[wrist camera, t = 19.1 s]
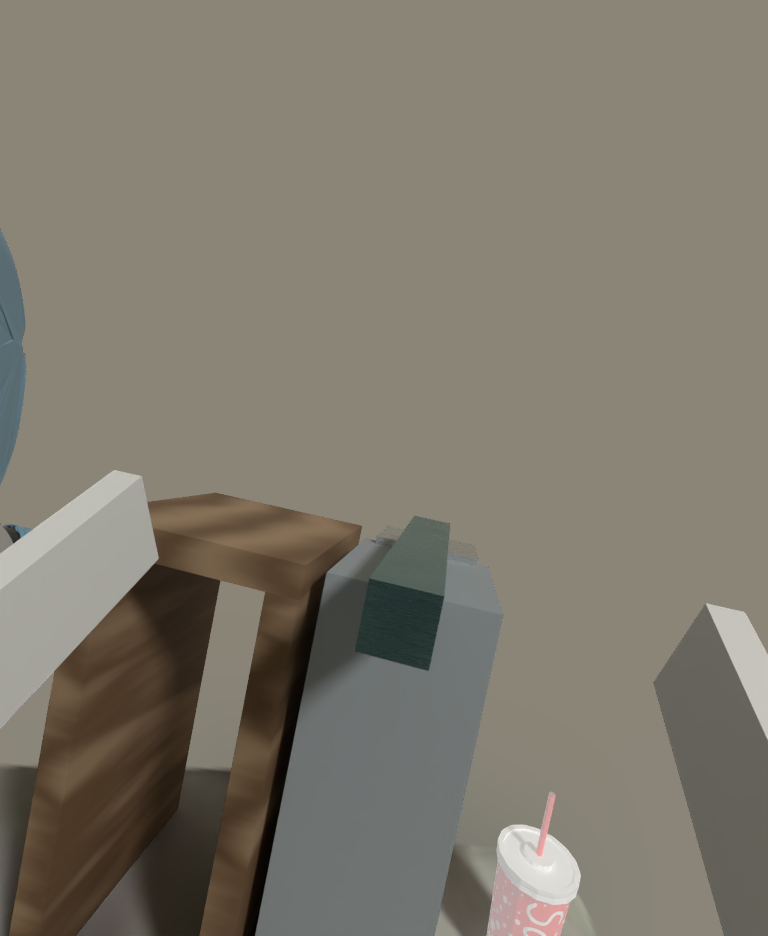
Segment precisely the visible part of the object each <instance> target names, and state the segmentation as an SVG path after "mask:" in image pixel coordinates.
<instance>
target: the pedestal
mask: <svg viewBox="0 0 768 936" xmlns="http://www.w3.org/2000/svg"><path fill="white" fill-rule="evenodd" d="M391 548H392V547H389V546H384V545H380V544H376V541H375V540H370V539H364V540H363V541H362V542H361V543H360V544H359V545H358V546H356V547H355V548H354V549H353V550H352V551H351V552H349V553H348V554H347V555H346V556H345V557H344V558H343V559H341V560H340V561H339V562H338V563H337V564H336V565H334V566H333V567H332V568H331V569H330V570H329V571H328V572H327V573H326V578H325V583H324V589H323V594H322V599H321V604H320V609H319V614H318V619H317V624H316V629H315V634H314V639H313V644H312V649H311V655H310V660H309V665H308V670H307V675H306V680H305V685H304V690H303V695H302V700H301V705H300V710H299V715H298V721H297V726H296V731H295V736H294V741H293V746H292V751H291V756H290V761H289V766H288V771H287V776H286V781H285V787H284V792H283V797H282V802H281V807H280V812H279V817H278V822H277V827H276V832H275V837H274V842H273V847H272V853H271V858H270V863H269V868H268V873H267V878H266V883H265V888H264V893H263V898H262V903H261V908H260V913H259V919H258V924H257V929H256V934H255V936H434V935H435V931H436V926H437V922H438V917H439V912H440V908H441V903H442V898H443V894H444V889H445V884H446V880H447V875H448V870H449V866H450V861H451V856H452V852H453V847H454V842H455V838H456V833H457V828H458V824H459V819H460V814H461V810H462V805H463V800H464V796H465V791H466V787H467V782H468V777H469V773H470V768H471V763H472V759H473V754H474V749H475V745H476V740H477V735H478V730H479V726H480V721H481V716H482V712H483V707H484V703H485V698H486V693H487V689H488V684H489V679H490V675H491V670H492V665H493V661H494V656H495V651H496V647H497V642H498V638H499V633H500V628H501V623H502V619H503V613H502V609H501V606H500V603H499V600H498V597H497V594H496V590H495V587H494V584H493V580H492V577H491V574H490V571H489V567H488V566H484V565H479V564H477V565H476V566H471V565H467V564H463V563H458V562H454V561H449V560H447V570H446V582H445V595H444V601H443V606H442V610H441V615H440V620H439V625H438V629H437V634H436V639H435V644H434V649H433V653H432V658H431V663H430V668H429V671H427V670H423V669H419V668H415V667H411V666H408V665H404V664H400V663H396V662H393V661H389V660H385V659H381V658H377V657H374V656H370V655H366V654H362V653H359V652H355V647H356V642H357V637H358V632H359V627H360V622H361V617H362V612H363V607H364V602H365V597H366V592H367V587H368V582H369V578H370V577H371V575H372V574H373V572H374V571H375V570H376V568H377V567H378V566H379V564H380V563H381V561H382V560H383V559H384V557H385V556H386V555H387V553H388V552H389V550H390V549H391Z"/></svg>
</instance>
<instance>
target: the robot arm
mask: <svg viewBox="0 0 768 936" xmlns="http://www.w3.org/2000/svg"><path fill="white" fill-rule="evenodd" d="M24 331H25V315H24V307H23V299H22V294H21V288H20V283H19V279H18V275H17V271H16V267H15V264H14V261H13V258H12V255H11V252H10V250H9V247H8V245H7V242H6V240H5V238H4V236H3V234H2V232H1V230H0V484H1V482H2V480H3V477H4V475H5V473H6V470H7V467H8V464H9V461H10V458H11V456H12V452H13V450H14V446H15V442H16V438H17V433H18V429H19V423H20V416H21V411H22V406H23V397H24V387H25V375H26V363H25V353H23V348H22V339H23V335H24ZM158 559H159V557H158V552H157V547H156V543H155V538H154V533H153V528H152V523H151V518H150V514H149V509H148V504H147V499H146V494H145V489H144V485H143V480H142V476H138V475H134V474H130V473H125V472H121V471H116V470H114V471H112V472H111V473H109V474H108V475H107V476H105V477H104V478H103V479H102V480H100V481H99V482H97V483H96V484H94V485H93V486H92V487H90V488H89V489H88V490H86V491H85V492H84V493H82V494H81V495H79V496H78V497H77V498H75V499H74V500H73V501H71V502H70V503H68V504H67V505H66V506H64V507H63V508H62V509H60V510H59V511H58V512H56V513H55V514H54V515H52V516H51V517H49V518H48V519H47V520H45V521H44V522H42V523H41V524H40V525H38V526H37V527H36V528H34V529H31V528H23V527H19V526H18V525H10V524H9V525H5V526H2V525H1V524H0V729H1V728H2V727H3V726H4V724H5V723H6V722H7V721H8V720H9V719H10V718H11V717H12V716H13V715H14V714H15V713H16V712H17V710H18V709H19V708H20V707H21V706H22V705H23V704H24V703H25V702H26V701H27V700H28V699H29V698H30V696H32V694H33V693H34V692H35V691H36V690H37V689H38V688H39V687H40V686H41V685H42V684H43V683H44V682H45V680H46V679H47V678H48V677H49V676H50V675H51V674H52V673H53V672H54V671H55V670H56V669H57V668H58V666H59V665H60V664H61V663H62V662H63V661H64V660H65V659H66V658H67V657H68V656H69V655H70V654H71V653H72V651H73V650H74V649H75V648H76V647H77V646H78V645H79V644H80V643H81V642H82V641H83V640H84V639H85V637H86V636H87V635H88V634H89V633H90V632H91V631H92V630H93V629H94V628H95V627H96V626H97V625H98V623H99V622H100V621H101V620H102V619H103V618H104V617H105V616H106V615H107V614H108V613H109V612H110V611H111V610H112V608H113V607H114V606H115V605H116V604H117V603H118V602H119V601H120V600H121V599H122V598H123V597H124V596H125V594H126V593H127V592H128V591H129V590H130V589H131V588H132V587H133V586H134V585H135V584H136V583H137V582H138V581H139V579H140V578H141V577H142V576H143V575H144V574H145V573H146V572H147V571H148V570H149V569H150V568H151V567H152V565H153V564H154V563H155V562H156V561H157V560H158ZM654 686H655V690H656V694H657V697H658V701H659V704H660V708H661V712H662V715H663V719H664V722H665V726H666V729H667V733H668V737H669V740H670V744H671V747H672V751H673V754H674V758H675V762H676V765H677V769H678V772H679V776H680V780H681V783H682V787H683V790H684V793H685V797H686V801H687V805H688V808H689V812H690V815H691V819H692V822H693V826H694V829H695V833H696V837H697V840H698V844H699V848H700V851H701V855H702V858H703V862H704V865H705V869H706V873H707V876H708V880H709V883H710V887H711V891H712V894H713V898H714V901H715V905H716V908H717V912H718V916H719V919H720V923H721V926H722V930H723V934H724V936H768V654H767V653H766V651H765V649H764V647H763V645H762V643H761V642H760V639H759V638H758V636H757V634H756V632H755V630H754V628H753V626H752V625H751V623H750V621H749V619H748V617H747V615H746V613H745V612H741V611H737V610H733V609H728V608H724V607H720V606H715V605H710V604H705V605H704V607H703V608H702V610H701V611H700V613H699V614H698V616H697V617H696V619H695V620H694V622H693V623H692V625H691V626H690V628H689V630H688V631H687V632H686V634H685V635H684V637H683V638H682V640H681V641H680V643H679V645H678V646H677V648H676V649H675V651H674V652H673V654H672V655H671V657H670V658H669V660H668V661H667V663H666V664H665V666H664V667H663V669H662V671H661V672H660V673H659V675H658V676H657V678H656V680H655V681H654Z"/></svg>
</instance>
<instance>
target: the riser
mask: <svg viewBox="0 0 768 936" xmlns="http://www.w3.org/2000/svg"><path fill="white" fill-rule="evenodd" d="M147 504H148V509H149V514H150V518H151V523H152V528H153V533H154V538H155V543H156V547H157V552H158V557H159V559H158V560H157V561H156V562H155V563H154V564H153V565H152V567H151V568H150V569H149V570H148V571H147V572H146V573H145V574H144V575H143V576H142V577H141V578H140V579H139V581H138V582H137V583H136V584H135V585H134V586H133V587H132V588H131V589H130V590H129V591H128V592H127V593H126V594H125V596H124V597H123V598H122V599H121V600H120V601H119V602H118V603H117V604H116V605H115V606H114V607H113V608H112V610H111V611H110V612H109V613H108V614H107V615H106V616H105V617H104V618H103V619H102V620H101V621H100V622H99V623H98V625H97V626H96V627H95V628H94V629H93V630H92V631H91V632H90V633H89V634H88V635H87V636H86V637H85V639H84V640H83V641H82V642H81V643H80V644H79V645H78V646H77V647H76V648H75V649H74V650H73V651H72V653H71V654H70V655H69V656H68V657H67V658H66V659H65V660H64V661H63V662H62V663H61V664H60V665H59V666H58V668H57V669H56V670H55V671H54V677H53V684H52V689H51V695H50V700H49V707H48V713H47V718H46V724H45V730H44V735H43V741H42V747H41V753H40V758H39V764H38V770H37V776H36V782H35V787H34V793H33V799H32V805H31V811H30V816H29V822H28V828H27V834H26V840H25V845H24V851H23V857H22V863H21V869H20V874H19V880H18V886H17V892H16V898H15V903H14V909H13V915H12V921H11V927H10V932H9V936H76V935H77V933H78V932H79V931H80V930H81V928H82V927H83V926H84V925H85V923H86V922H87V921H88V920H89V918H90V917H91V916H92V915H93V913H94V912H95V911H96V910H97V908H98V907H99V906H100V905H101V903H102V902H103V901H104V900H105V898H106V897H107V896H108V895H109V893H110V892H111V891H112V890H113V888H114V887H115V886H116V885H117V883H118V882H119V881H120V880H121V878H122V877H123V876H124V875H125V873H126V872H127V871H128V870H129V868H130V867H131V866H132V865H133V863H134V862H135V861H136V860H137V858H138V857H139V856H140V855H141V853H142V852H143V851H144V850H145V848H146V847H147V846H148V845H149V843H150V842H151V841H152V840H153V838H154V837H155V836H156V835H157V833H158V832H159V831H160V830H161V828H162V827H163V826H164V825H165V823H166V822H167V821H168V820H169V818H170V817H171V816H172V815H173V813H174V812H175V811H176V810H177V808H178V804H179V799H180V793H181V788H182V783H183V777H184V772H185V767H186V761H187V756H188V751H189V745H190V739H191V734H192V729H193V723H194V718H195V713H196V708H197V702H198V697H199V692H200V686H201V681H202V675H203V670H204V665H205V660H206V654H207V649H208V643H209V638H210V632H211V628H212V621H213V617H214V611H215V606H216V600H217V595H218V590H219V585H220V580H221V581H225V582H229V583H233V584H237V585H241V586H245V587H249V588H253V589H257V590H261V591H265V596H264V602H263V607H262V612H261V617H260V622H259V627H258V633H257V638H256V644H255V648H254V654H253V659H252V664H251V669H250V674H249V680H248V685H247V690H246V695H245V700H244V706H243V711H242V716H241V722H240V727H239V732H238V737H237V743H236V748H235V753H234V758H233V763H232V768H231V774H230V779H229V784H228V789H227V794H226V800H225V805H224V810H223V815H222V821H221V826H220V831H219V836H218V841H217V847H216V852H215V857H214V862H213V868H212V873H211V878H210V883H209V889H208V894H207V899H206V904H205V909H204V915H203V920H202V925H201V930H200V936H255V934H256V929H257V924H258V919H259V913H260V908H261V903H262V898H263V893H264V888H265V883H266V878H267V873H268V868H269V863H270V858H271V853H272V847H273V842H274V837H275V832H276V827H277V822H278V817H279V812H280V807H281V802H282V797H283V792H284V787H285V781H286V776H287V771H288V766H289V761H290V756H291V751H292V746H293V741H294V736H295V731H296V726H297V721H298V715H299V710H300V705H301V700H302V695H303V690H304V685H305V680H306V675H307V670H308V665H309V660H310V655H311V649H312V644H313V639H314V634H315V629H316V624H317V619H318V614H319V609H320V604H321V599H322V594H323V589H324V583H325V578H326V573H327V572H328V571H329V570H330V569H331V568H332V567H333V566H334V565H336V564H337V563H338V562H339V561H340V560H341V559H343V558H344V557H345V556H346V555H347V554H348V553H349V552H351V551H352V550H353V549H354V548H355V547H356V546H358V543H359V539H360V533H361V528H362V526H360V525H356V524H351V523H346V522H342V521H338V520H333V519H329V518H324V517H320V516H316V515H311V514H307V513H302V512H298V511H294V510H289V509H285V508H280V507H276V506H272V505H267V504H263V503H258V502H254V501H249V500H245V499H240V498H236V497H232V496H227V495H223V494H218V493H212V494H204V495H196V496H189V497H182V498H175V499H167V500H160V501H152V502H147Z"/></svg>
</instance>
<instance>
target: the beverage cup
mask: <svg viewBox="0 0 768 936" xmlns="http://www.w3.org/2000/svg"><path fill="white" fill-rule="evenodd" d="M555 796H556V795H555V794H554V793H553V792H549V796H548V800H547V805H546V809H545V814H544V818H543V823H542V828H541V830H540V829H537V828H534V827H530V826H527V825H510V826H509V827H507V828H505V829H503V830H502V831H501V834H500V836H499V838H498V842H497V843H498V846H497V849H496V850H497V857H498V863H497V870H496V876H495V883H494V890H493V896H492V903H491V909H490V916H489V923H488V929H487V936H560V934H561V931H562V927H563V924H564V921H565V917H566V914H567V911H568V908H569V904H570V901H571V900H572V899H574V898H575V897H576V894H577V891H578V888H579V882H580V877H581V875H580V871H579V868H578V865H577V862H576V861H575V859H574V858H573V856H572V855H571V854H570V852H569V851H568V850H567V848H565V847H564V846H563V845H562V844H561V843H560V842H559V841H557V840H556V839H555V838H554V837H552V836H551V835H549V834H547V832H548V827H549V823H550V818H551V814H552V809H553V805H554V801H555Z"/></svg>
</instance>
